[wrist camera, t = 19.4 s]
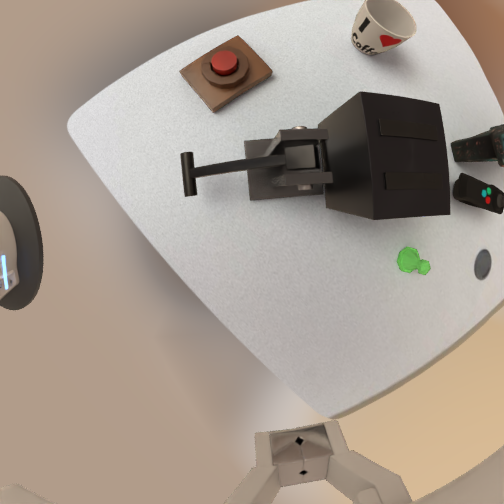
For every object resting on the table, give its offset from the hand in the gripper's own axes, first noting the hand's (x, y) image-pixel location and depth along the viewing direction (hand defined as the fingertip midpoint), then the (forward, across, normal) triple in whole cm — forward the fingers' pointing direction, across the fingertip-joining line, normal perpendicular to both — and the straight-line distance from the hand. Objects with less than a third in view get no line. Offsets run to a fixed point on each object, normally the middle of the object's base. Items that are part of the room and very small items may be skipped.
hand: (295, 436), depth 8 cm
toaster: (+31, -16, -11) cm, 36 cm away
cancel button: (+28, +1, -26) cm, 38 cm away
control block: (+31, +1, -26) cm, 40 cm away
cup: (+31, -22, -32) cm, 50 cm away
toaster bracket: (+31, -5, -11) cm, 33 cm away
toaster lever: (+23, 0, -11) cm, 25 cm away
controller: (+31, -37, -6) cm, 49 cm away
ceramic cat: (+31, -44, -15) cm, 56 cm away
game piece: (+31, -24, +4) cm, 40 cm away
